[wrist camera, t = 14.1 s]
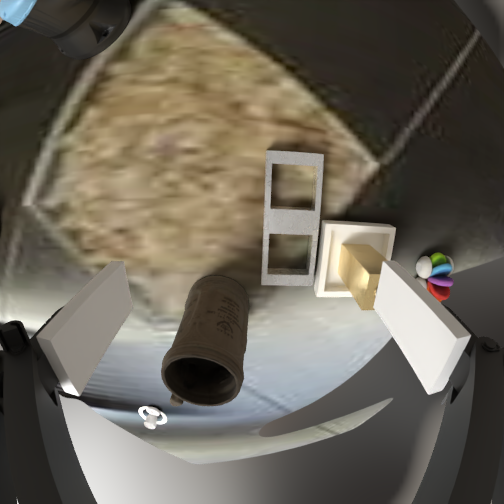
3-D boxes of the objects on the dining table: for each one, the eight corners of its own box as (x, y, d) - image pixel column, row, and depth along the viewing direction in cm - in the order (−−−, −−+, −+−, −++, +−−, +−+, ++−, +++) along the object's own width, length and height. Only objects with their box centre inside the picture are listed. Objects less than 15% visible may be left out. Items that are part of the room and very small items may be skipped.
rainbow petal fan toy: (405, 296, 46) (423, 315, 39) (416, 248, 43) (437, 263, 36) (437, 294, 46) (455, 311, 39) (448, 249, 43) (470, 262, 36)
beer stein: (202, 260, 44) (164, 341, 26) (261, 286, 45) (259, 376, 27) (176, 325, 49) (143, 407, 31) (227, 346, 51) (213, 432, 32)
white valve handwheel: (151, 400, 57) (146, 412, 53) (175, 417, 59) (172, 429, 55) (133, 409, 59) (129, 420, 55) (156, 425, 61) (153, 436, 57)
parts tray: (321, 219, 41) (325, 223, 39) (389, 224, 41) (396, 228, 39) (313, 289, 45) (316, 297, 43) (377, 289, 45) (382, 296, 43)
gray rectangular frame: (265, 150, 38) (266, 150, 36) (319, 154, 38) (323, 154, 36) (261, 278, 45) (261, 285, 42) (309, 279, 45) (312, 285, 42)
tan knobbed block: (341, 243, 42) (370, 275, 30) (369, 244, 42) (404, 275, 30) (337, 272, 44) (362, 311, 32) (364, 272, 44) (395, 309, 32)
